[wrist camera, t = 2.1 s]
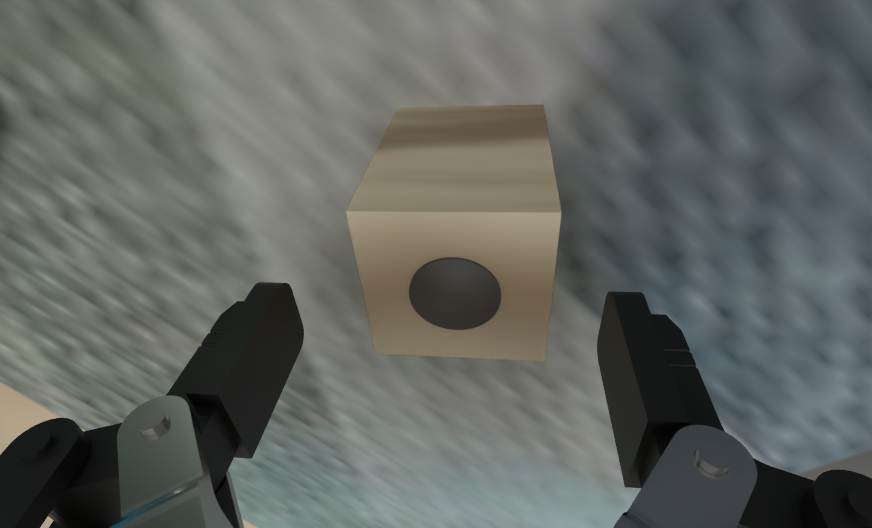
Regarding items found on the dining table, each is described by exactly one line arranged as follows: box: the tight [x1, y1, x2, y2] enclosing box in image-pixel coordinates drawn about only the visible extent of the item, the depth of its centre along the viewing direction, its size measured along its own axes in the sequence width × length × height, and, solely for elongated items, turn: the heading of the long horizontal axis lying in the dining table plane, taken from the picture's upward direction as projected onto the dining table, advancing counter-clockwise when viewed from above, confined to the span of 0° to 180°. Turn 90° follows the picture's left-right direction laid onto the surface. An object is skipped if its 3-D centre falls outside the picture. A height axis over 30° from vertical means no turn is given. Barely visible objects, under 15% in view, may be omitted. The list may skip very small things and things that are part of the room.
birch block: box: [346, 105, 562, 362], centre depth 15 cm, size 5×5×7 cm
